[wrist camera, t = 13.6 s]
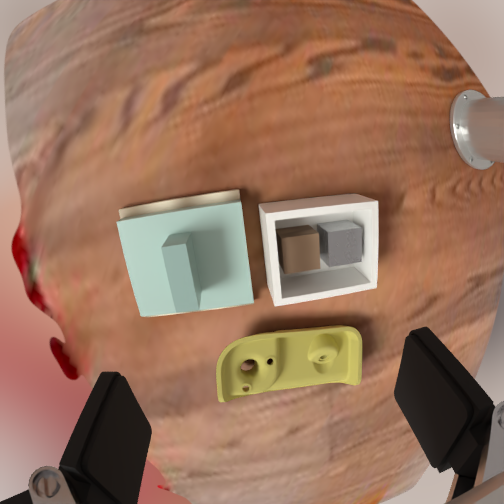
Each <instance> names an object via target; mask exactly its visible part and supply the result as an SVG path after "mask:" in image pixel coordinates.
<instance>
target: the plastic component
mask: <svg viewBox="0 0 504 504" xmlns="http://www.w3.org/2000/svg"><path fill="white" fill-rule="evenodd" d="M270 358H271V359H273V362H272V363H271V364H267V360H268V359H270ZM248 359H253V360H254V361H255V364H254V366H253V368H252V369H250V370H247V371H245V370H242V369H241V365H242V363H243V362H244V361H245V360H248ZM361 373H362V338H361V335H360V333H359V332H358V331H357V330H356V329H355V328H353V327H348V326H343V325H335V326H326V327H315V328H304V329H292V330H278V331H275V332H268V333H260V334H255V335H251V336H247V337H243V338H240V339H238V340H236V341H234V342H232V343H231V344H229V345H228V346H227V347H226V348H225V349H224V350H223V352H222V353H221V355H220V357H219V359H218V362H217V368H216V380H217V392H218V400H219V401H220V402H228V401H230V400H233V399H236V398H239V397H243V396H247V395H251V394H258V393H262V392H268V391H275V390H282V389H290V388H298V387H305V386H312V385H318V384H325V383H333V382H341V383H346V384H351V385H358V384H360V382H361ZM244 386H249V387H247V388H243V387H244Z"/></svg>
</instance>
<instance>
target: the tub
mask: <svg viewBox="0 0 504 504" xmlns="http://www.w3.org/2000/svg"><path fill="white" fill-rule="evenodd" d="M258 206H259V215H260V223H261V232H262V241H263V250H264V259H265V268H266V278H267V285H268V288H269V290H270V293H271V296H272V299H273V302H274V305H275V306H281V305H287V304H293V303H299V302H305V301H311V300H316V299H322V298H327V297H333V296H338V295H343V294H348V293H353V292H358V291H363V290H368V289H373V288H377V273H378V201H377V200H374V199H371V198H368V197H365V196H362V195H359V194H356V193H353V194H342V195H332V196H322V197H312V198H303V199H294V200H286V201H277V202H269V203H261V204H258ZM341 220H349V221H351V222H353V223H354V224H356V225H358V226H360V227H362V262H358V263H352V264H346V265H340V266H334V267H328V266H327V265H326V263H325V262H324V261H323V260H322V259H321V258H320V269H316V270H309V271H303V272H297V273H290V274H284V272H283V270H282V268H281V266H280V264H279V261H278V251H277V240H276V230H275V229H279V228H286V227H294V226H302V225H310V226H311V227H312V228H313V229H314V230H316V231H317V223H325V222H333V221H341Z"/></svg>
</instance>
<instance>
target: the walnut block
mask: <svg viewBox="0 0 504 504" xmlns="http://www.w3.org/2000/svg"><path fill="white" fill-rule="evenodd" d="M275 230H276V240H277V251H278V261H279V264H280V266H281V268H282V270H283V272H284V274H290V273H297V272H303V271H309V270H316V269H320V246H319V233H318V232H317V231H316V230H314V229H313V228H312V227H311V226H310V225H302V226H294V227H286V228H279V229H275Z"/></svg>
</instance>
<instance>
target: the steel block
mask: <svg viewBox="0 0 504 504" xmlns="http://www.w3.org/2000/svg"><path fill="white" fill-rule="evenodd" d="M317 232H318V233H319V246H320V258H321V259H322V260H323V261H324V262H325V263H326V265H327V266H328V267H334V266H340V265H346V264H352V263H358V262H362V227H360V226H358V225H356V224H354V223H353V222H351V221H349V220H341V221H333V222H325V223H317Z"/></svg>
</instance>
